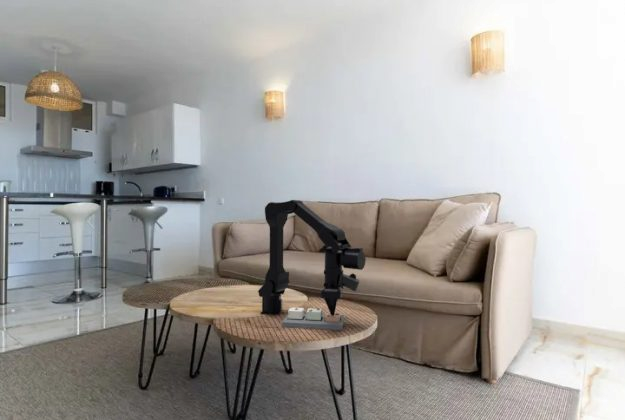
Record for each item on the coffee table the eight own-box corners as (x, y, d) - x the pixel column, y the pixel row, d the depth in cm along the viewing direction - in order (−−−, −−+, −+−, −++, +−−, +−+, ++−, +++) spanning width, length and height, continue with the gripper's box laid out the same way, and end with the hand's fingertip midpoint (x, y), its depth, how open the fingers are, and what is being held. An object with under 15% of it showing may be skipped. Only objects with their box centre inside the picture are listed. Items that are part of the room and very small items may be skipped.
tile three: (325, 324, 127) (325, 316, 127) (326, 320, 132) (326, 312, 132) (339, 325, 127) (339, 316, 127) (339, 321, 131) (340, 313, 131)
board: (282, 326, 125) (282, 322, 125) (289, 316, 137) (289, 312, 137) (342, 330, 123) (342, 325, 123) (344, 319, 135) (344, 315, 135)
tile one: (288, 318, 129) (288, 310, 129) (290, 314, 133) (291, 306, 133) (302, 319, 128) (302, 310, 128) (304, 315, 133) (304, 307, 133)
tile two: (306, 319, 128) (306, 311, 128) (308, 315, 132) (308, 307, 132) (320, 320, 127) (320, 311, 127) (321, 316, 132) (322, 308, 132)
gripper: (357, 272, 119) (356, 324, 119) (358, 263, 137) (357, 308, 137) (320, 270, 120) (319, 322, 120) (326, 262, 139) (325, 307, 139)
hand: (332, 314), depth 129 cm, fingers closed, pressing on tile three
